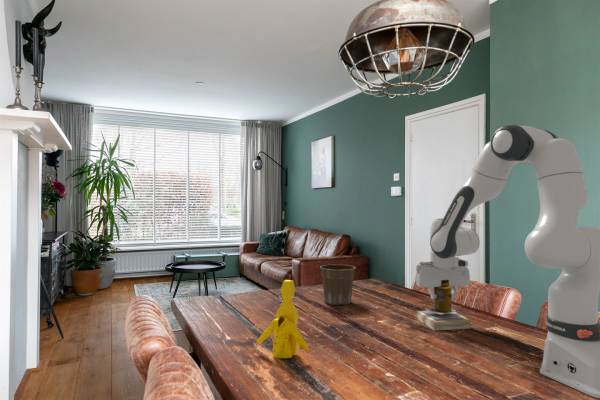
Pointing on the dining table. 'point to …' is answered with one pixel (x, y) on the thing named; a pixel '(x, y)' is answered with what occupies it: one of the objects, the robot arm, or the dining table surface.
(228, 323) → the dining table surface
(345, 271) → the plant pot
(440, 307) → the condiment
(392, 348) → the dining table surface
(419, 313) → the base
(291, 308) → the figure statuette
